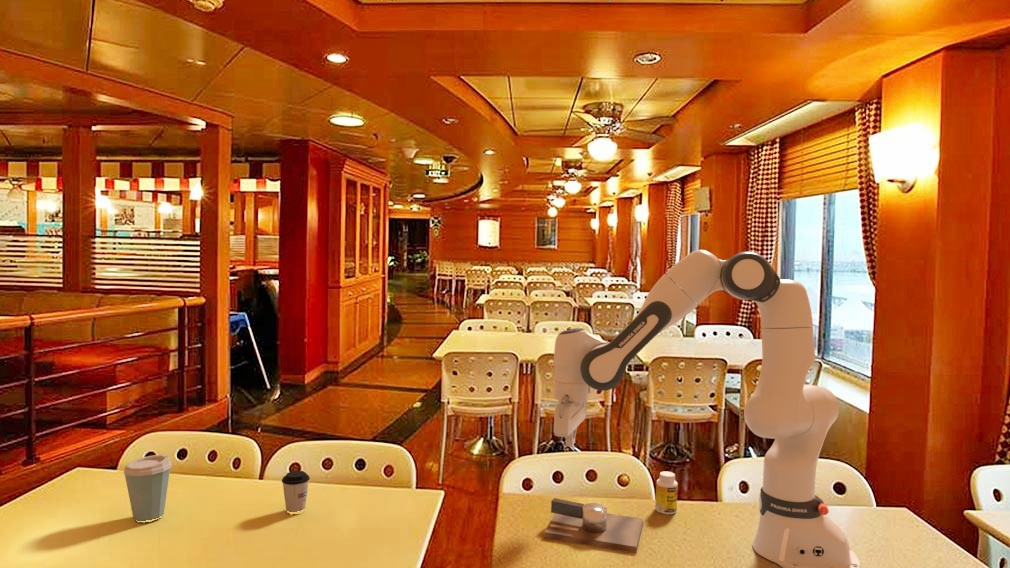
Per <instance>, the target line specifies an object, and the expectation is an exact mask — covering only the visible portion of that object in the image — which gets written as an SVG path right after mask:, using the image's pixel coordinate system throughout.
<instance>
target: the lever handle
mask: <svg viewBox="0 0 1010 568" xmlns="http://www.w3.org/2000/svg"><path fill="white" fill-rule="evenodd" d="M551 513H552V514H555V513H556V514H561V515H565V516H570V517H575V518H580V519H582V527H583V528H584V529H585V530H587V531H591V532H602V531H604V530H606V528H607V513H608V507H607V506H606V505H604V504H601V503H598V502H589V503H588V502H587V503H580V502H575V501H572V500H565V499H559V498H556V497H554V498H553V499H552V500H551V505H550V514H551Z"/></svg>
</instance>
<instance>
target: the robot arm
mask: <svg viewBox="0 0 1010 568" xmlns="http://www.w3.org/2000/svg"><path fill="white" fill-rule="evenodd" d="M717 291H721V292H723V293H725V294H726V295H728V296H731V297H732V298H734V299H737V300H741V301H752V302H754V303H756V305H757V307H758V310H759V314H760V327H761V328H760V329H761V332H760V333H761V350H762V351H761V354H762V355H761V356H762V357H761V359H762V361H761V368H760V373H759V377H758V381H757V383H756V386H755V389H754V391H753V393H752V395H751V396H750V397H749V399H748V400H747V401H746V403H745V405H744V408H743V417H744V421H745V424H746V425H747V427H748V429H749V430H750V431H751V432H752V433H753V434H754V435H755V436H757V437H760V438H764V439H772V440H773V439H774V441H773V443H772V445H771V446H770V448H769V449H768V450H767V452H766V453H765V454H764V458H763V471H762V472H763V473H762V477H763V478H762V486H761V487H760V493H759V500H758V501H759V503H758V510H759V514H760V515H759V520H758V525H757V530H756V532H755V537H754V539H753V541H752V548H753V550H754V551H755V552H756V553H757V554H758V555H759V556H761V557H763V558H765V559H766V560H768V561H771V562H774V564H777V565H779V566H780V567H781V568H861V566H862V565H861V561H860V559H859V556H858V555H857V554H856V552H855V551H853V550H852V549H851V548H850V545H849V540H848V538H847V535H846V533H845V531H844V530H843V529H842V528H841V527H840V525H838V524H837V523H835V522H834V521H833V520H832V519H831V518H830V517H828V516H827V515H828V514H829V513H830V511H829V508H828V506H827V504H826V503H824V501H823V499H821V497H820V496H819V494H817V495H816V494H815V491H816V489H815V488H816V477H817V475H816V474H817V465H818V461H819V457H820V453H821V451H822V448H823V445H824V441H825V439H826V437H827V434H828V432H829V430H830V428H831V427H832V425H833V424H834V423H836V420H837V418H838V417H839V414H840V405H839V401H838V399H837V397H836V396H835V395H834V393H833V392H831V391H832V390H831V391H830V390H829V389H828V388H826V387H823V386H819V385H814V384H805V381H806V378H807V375H808V372H809V370H810V369H811V368H812V367H813V365H814V362H815V359H816V353H815V351H816V350H815V340H814V337H815V335H814V327H813V326H814V323H813V316H812V314H813V313H812V309H811V304H810V303H811V302H810V299H809V295H808V293H807V289H806V288H805V286H804V285H803V284H802V283H801V282H798V281H797V280H793V279H789V278H788V279H787V278H786V279H783V278H780V276H779V275H778V274H777V272H776V271H775V269H774V268H773V266H772V265H771V263H770V262H769V261H768V260H767V258H765V257H764V256H763V255H761V254H759V253H757V252H753V251H741V252H738V253H736V254H734V255H732V256H731V257H729V258H728V259H724V260H723V259H720V258H718V257H717V256H716V255H715V254H713V253H712V252H710V251H708V250H705V249H696V250H693V251H691V252H690V253H689V254H687V255H686V256H684V257H683V258H682V259H680V260H679V261H677V262H676V263H675V264H674V265H672V267H670V268H669V269H668V270H667V271H666V272H665V273H664V274H663V275H662V276H661V277H660V278H659V279H658V280H657V282H656V283H655V284H654V285H653V287H652V288H650V291H649V292H648V293H647V295H646V298H645V299H644V301H643V303H642V306H641V308H640V310H639V311H638V313H637V315H635V317H634V318H633V319H632V320H631V322H629V323H628V324H627V325H626V326H625V328H624V329H623V330H621V331H620V332H619V333H618V334H617V335H616V336H615V338H613V339H612V340H610V341H607V340H604V339H601V338H599V337H597V336H595V335H593V334H592V333H591V332H588V330H587V329H585V328H582V327H580V328H579V327H578V328H572V329H571V328H570V329H565V330H563V331H561V332H560V333H559V334H558V335H557V336H556V338H555V344H554V350H553V352H554V353H553V354H554V355H553V365H554V369H555V371H554V377H553V398H554V399H555V400H556V401H558V403H557V404H556V405H555V408H554V414H553V418H554V419H553V435H554V436H555V437H559V438H560V437H561V438H564V439H565V446H566V447H568V448H569V447H570V448H572V447H573V446H574V445H575V443H576V434H577V431H578V427H579V426H580V424H581V423H582V422H584V421H585V420H586V416H587V412H588V411H587V410H588V401H589V394H590V393H591V388H592V389H593V390H596V391H600V392H601V391H605V392H606V391H609V390H612V389H614V388H615V387H617V386H618V385H619V384H620V382H621V381H622V378H623V377H624V374H625V372H626V368H627V366H628V364H629V363H630V362H631V361H632V360H633V359H634V358H635V357H636V355H638V354H639V353H640V352H641V351H642V350H643V348H645V347H646V346H647V345H648V344H649V343H650V342H651V341H652V340H653V339H654V338H656V336H658V335H659V334H660V333H662V332H664V331H665V330H667V329H668V328H669V327H672V326H673V325H674V324H676V323H678V322H679V321H681V320H682V319H684V318H685V317H686V316H688V315H689V314H690V313H691V312H693V311H695V309H696V308H697V307H699V306H700V304H701V303H702V302H703V301H704V300H705V299H707V298H708V297H709V296H710V295H711V294H714V292H717Z"/></svg>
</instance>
